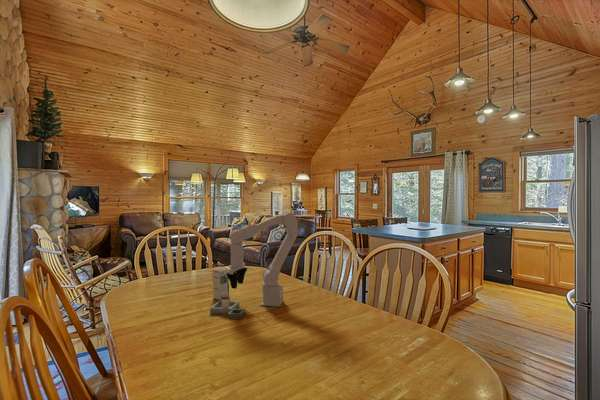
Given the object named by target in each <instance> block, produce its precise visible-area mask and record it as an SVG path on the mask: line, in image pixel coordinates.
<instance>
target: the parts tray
mask: <svg viewBox="0 0 600 400" xmlns="http://www.w3.org/2000/svg"><path fill="white" fill-rule="evenodd" d="M221 306H222V299H221V300H218V301H217V302H216V303H214V304H213V305H212V306H211V307H209V314H210V315H211V314H212V315H225V316H228V313H229V312H230V311H231V310H232V309H240V301H237V300H236V301H235V300H234V301H233V300H229V308H221Z"/></svg>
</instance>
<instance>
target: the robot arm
mask: <svg viewBox="0 0 600 400" xmlns="http://www.w3.org/2000/svg"><path fill="white" fill-rule="evenodd" d="M298 222H299V221H298V219H297V217H296V215H295V214H293V213H291V212H288V211H287V212H286V211H285V212H283V213H278V214H275V215H273V216H272V217H269V218H267V219H265V220H263V221H261V222H259V223H257V224H256V223H254V222H252V223H251V222H249V223H247V225H246V226H245V225H244V226H243V227H239V228H238V229H236V230H235V229H234V230H233V231H232V232H231V233H230V236H229V238H230V265H228V273H227V277H228V278H229V284H230V287H231V289H237V288H238V284H239V285H240V284H241V285H242V284H244V280H245V275H246V273H247V271H248V267H246V263H245V262H244V245H243V242H244V240H248V239H250V238H253V237H255V236H257V235H259V232H260V231H261V230H264V229H266V228H270V227H272V226H275V225H278V226H280V225H281V226H283V227H284V229H285V231H286V235H285V236H284V239H283V240H282V242H281V244H280V246H279V248H278V249H277V251H276V254H275V256H274V258H273V260H272V262H270V264H269V265H268V267H267V268H266V269H264V270H263V273H262V278H263V280H264V281H263V282H262V301H261V303H260V304H259V305H260V306H265V307H267V306H268V307H281V305H282V304H283V302H284V286H283V285H282V284H279V283H278V282H279V275H280V273H281V269H282V266H283V265H284V262H285V261H286V260H287V259H286V258H287V257H288V255H289V253H290V251H291V249H292V247H293V245H294V243H295V241H296V239H297V237H298V234H299V230H298V228H299V227H298Z"/></svg>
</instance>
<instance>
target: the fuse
mask: <svg viewBox="0 0 600 400" xmlns="http://www.w3.org/2000/svg"><path fill="white" fill-rule="evenodd" d="M221 297H222V299H221V301H222V306H221V308H229V301H230V300H229V297H230V291H229V292H222V293H221Z"/></svg>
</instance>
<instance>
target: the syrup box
mask: <svg viewBox="0 0 600 400" xmlns="http://www.w3.org/2000/svg"><path fill="white" fill-rule="evenodd" d="M228 272H229V267H228V268H227V267H219V268H214V269H212V298H213V299H216V300H218V301H220V300H221V301H222V297H221V293H222V292H229V293H230V286H229V284H230V280H229V278H228V277H227V273H228Z"/></svg>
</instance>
